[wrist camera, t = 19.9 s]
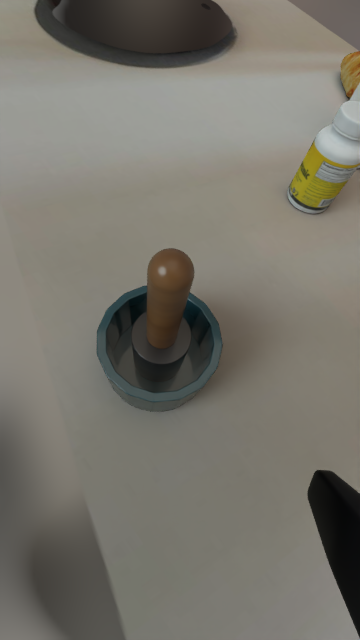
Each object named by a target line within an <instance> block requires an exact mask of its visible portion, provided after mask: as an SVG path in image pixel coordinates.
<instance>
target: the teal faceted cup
mask: <svg viewBox="0 0 360 640" xmlns="http://www.w3.org/2000/svg"><path fill="white" fill-rule="evenodd" d="M145 312H147V286H142V287H140V288H137V289H135V290H132V291H130V292H127V293H125V294H123V295H122V296H121V297H120V298H119V299H118V300H117V301H116V302H114V303H113V304H112V305H111V306H110V307H109V308H108V309H107V310H106V312H105V315H104V317H103V319H102V321H101V323H100V325H99V327H98V330H97V356H98V358H99V360H100V362H101V365H102V367H103V369H104V371H105V373H106V376H107V378H108V380H109V382H110V384H111V385H112V387H113V389H114V391H115V392H116V393H117V394H118V395H119V396H120V397H121V398H122V399H123V400H125V401H126V402H127V403H129V404H130V405H132V406H134V407H136V408H139V409H142V410H146V411H152V412H161V411H168V410H173V409H175V408H177V407H179V406H181V405H183V404H185V403H186V402H188V401H189V400H191V399H192V398H193V397H194V396H195V395H196V394H197V393H198V392H199V391H200V390H201V389H202V388H203V387H204V385H205V384H206V383H207V381H208V380H209V379H210V377H211V376H212V375H213V373H214V372H215V371H216V369H217V367H218V364H219V360H220V355H221V351H222V346H223V344H222V338H221V333H220V328H219V323H218V322H217V320H216V319H215V317H214V315H213V314H212V312H211V311H210V309H209V308H208V306H207V305H206V304H205V303H204V302H202V301H201V300H200V299H198V298H197V297H196V296H194V295H193V294H191V293H189V296H188V300H187V303H186V307H185V310H184V314H183V318H184V319H185V320H186V321H187V323H188V325H189V327H190V330H191V336H192V338H191V344H190V347H189V349H188V352H187V354H186V356H185V358H184V361H183V363H182V365H181V368H180V370H179V371H178V373H177V374H176V375H175V376H173V377H172V378H170V379H169V380H166V381H162V382H155V381H150V380H148V379H146V378H144V377H143V376H142V375H141V374H140V373H139V372H138V371H137V369H136V367H135V364H134V358H133V350H132V341H131V331H132V327H133V325H134V323H135V321H136V320H137V319H138V318H139V317H140V316H141V315H142V314H143V313H145Z"/></svg>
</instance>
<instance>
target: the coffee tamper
mask: <svg viewBox="0 0 360 640" xmlns="http://www.w3.org/2000/svg"><path fill="white" fill-rule="evenodd" d="M193 278H194V266H193V263H192V261H191V259H190V258H189V257H188V256H187V255H186V254H185V253H184V252H182V251H180V250H178V249H173V248H168V249H164V250H161V251H159V252H158V253H156V254H155V255H154V256H153V257H152V259H151V260H150V262H149V265H148V272H147V312H145V313H143V314H142V315H141V316H140V317H139V318H138V319H137V320H136V321H135V323H134V325H133V327H132V331H131V341H132V350H133V358H134V364H135V367H136V369H137V371H138V372H139V373H140V374H141V375H142V376H143V377H144V378H146V379H148V380H150V381H155V382H162V381H166V380H169V379H170V378H172V377H173V376H175V375H176V374H177V373H178V371H179V370H180V368H181V365H182V363H183V361H184V358H185V356H186V354H187V352H188V349H189V347H190V344H191V338H192V336H191V330H190V327H189V325H188V323H187V321H186V320H185V319H184V318H183V314H184V310H185V307H186V303H187V300H188V296H189V293H190V289H191V286H192V282H193Z"/></svg>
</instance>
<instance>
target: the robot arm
mask: <svg viewBox="0 0 360 640" xmlns="http://www.w3.org/2000/svg"><path fill="white" fill-rule="evenodd" d="M308 500H309V503H310V507H311V510H312V513H313V516H314V519H315V522H316V525H317V528H318V531H319V534H320V537H321V541H322V544H323V547H324V550H325V553H326V556H327V559H328V561H329V564H330V567H331V569H332V572H333V575H334V577H335V579H336V582H337V584H338V587H339V589H340V592H341V594H342V596H343V599H344V601H345V604H346V606H347V608H348V611H349V613H350V616H351V618H352V620H353V623H354V625H355V628H356V630H357V633H358V635H359V637H360V493H358V492H357V491H356V490H355V489H353V488H352V487H351V486H350V485H348V484H347V483H346V482H345V481H343V480H342V479H341V478H340V477H338V476H337V475H336V474H335V473H333V472H332V471H328V470H317V471H316V472H315V473H314V475H313V478H312V480H311V483H310V486H309V489H308Z"/></svg>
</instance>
